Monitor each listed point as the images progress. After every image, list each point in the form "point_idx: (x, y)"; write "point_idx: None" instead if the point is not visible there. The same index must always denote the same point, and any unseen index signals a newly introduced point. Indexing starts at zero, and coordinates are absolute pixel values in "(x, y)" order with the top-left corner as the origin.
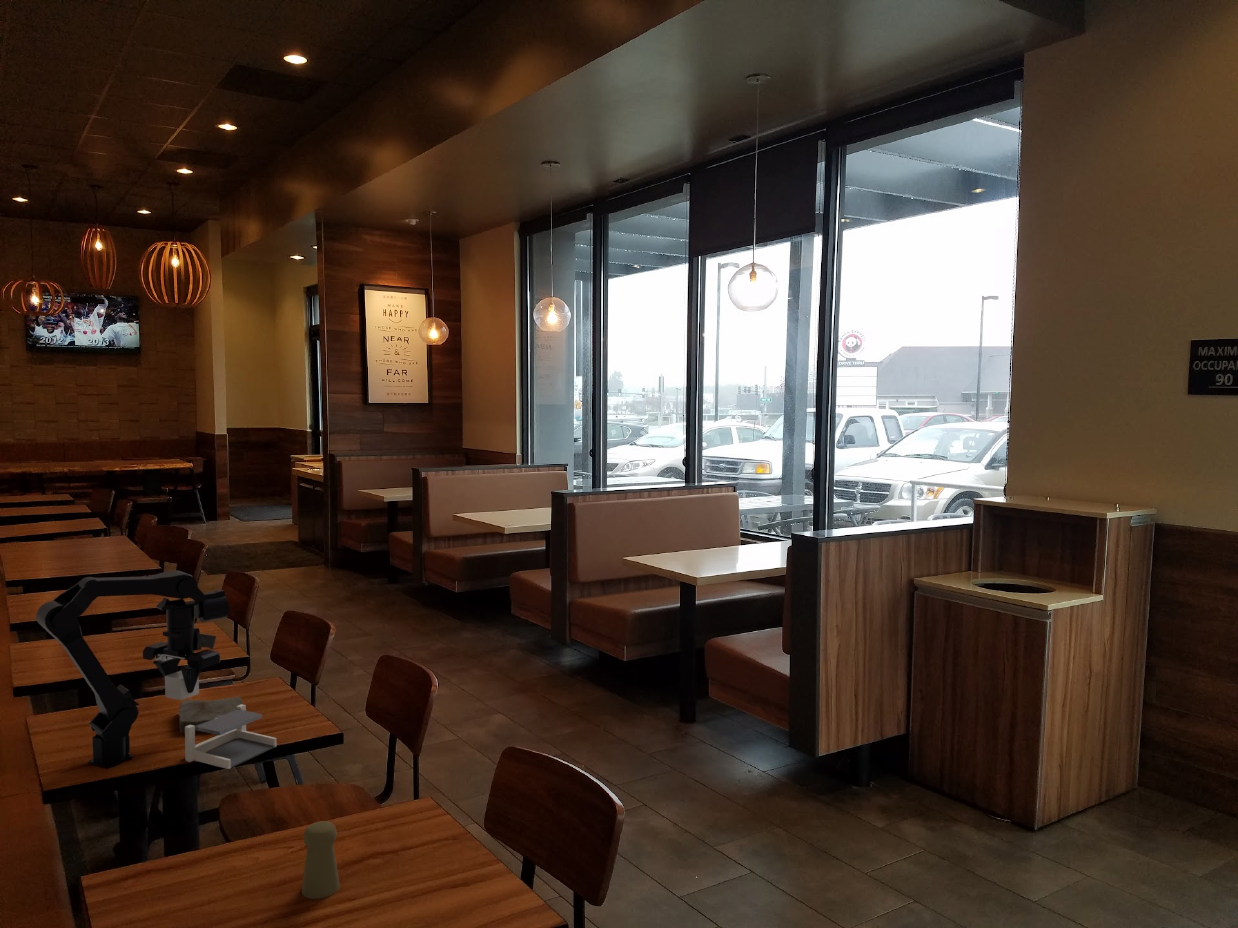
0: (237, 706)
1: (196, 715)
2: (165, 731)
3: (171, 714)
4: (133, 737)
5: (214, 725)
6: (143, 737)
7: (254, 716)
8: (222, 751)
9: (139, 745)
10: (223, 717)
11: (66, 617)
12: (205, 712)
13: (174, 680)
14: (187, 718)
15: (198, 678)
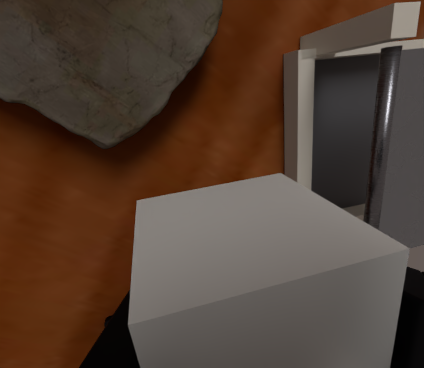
0: (392, 37)
1: (85, 61)
2: (46, 158)
3: None
4: (18, 245)
5: (421, 215)
6: (45, 226)
7: None
8: (340, 154)
9: (106, 259)
10: (404, 154)
11: None
12: (84, 11)
13: None
14: (95, 111)
15: (356, 220)
